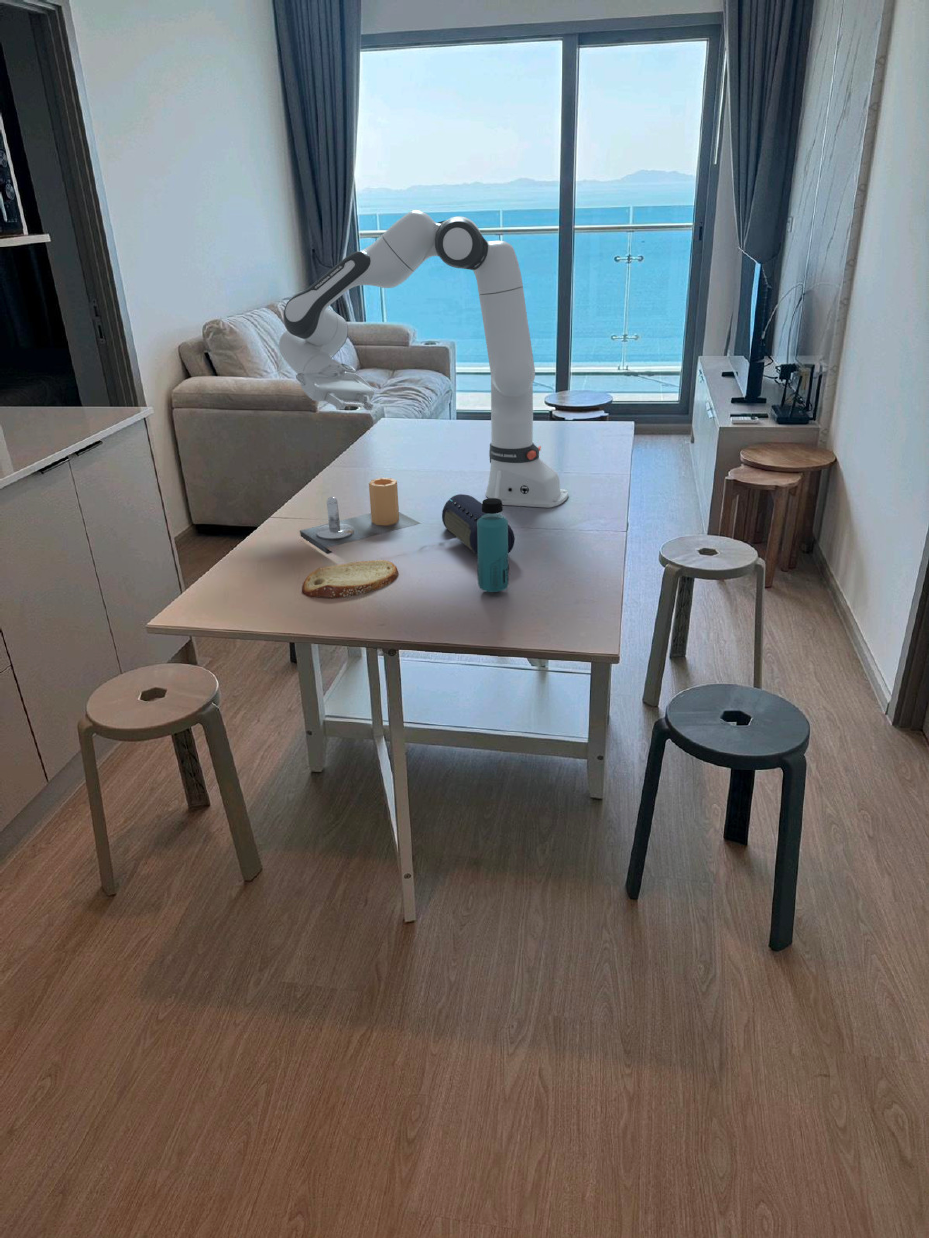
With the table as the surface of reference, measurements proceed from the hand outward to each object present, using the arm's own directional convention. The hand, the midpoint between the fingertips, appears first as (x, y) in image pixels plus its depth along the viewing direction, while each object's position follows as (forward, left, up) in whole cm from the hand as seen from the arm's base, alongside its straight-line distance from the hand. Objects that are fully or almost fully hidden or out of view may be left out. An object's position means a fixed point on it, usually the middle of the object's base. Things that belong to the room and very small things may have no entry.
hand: (357, 407), depth 204 cm
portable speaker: (-36, +9, -28) cm, 46 cm away
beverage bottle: (-50, +31, -28) cm, 65 cm away
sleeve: (-10, +6, -26) cm, 28 cm away
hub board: (-6, +12, -28) cm, 31 cm away
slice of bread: (-19, +38, -28) cm, 51 cm away
